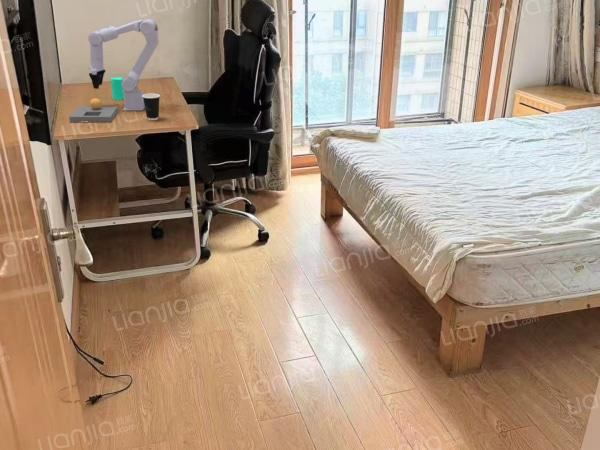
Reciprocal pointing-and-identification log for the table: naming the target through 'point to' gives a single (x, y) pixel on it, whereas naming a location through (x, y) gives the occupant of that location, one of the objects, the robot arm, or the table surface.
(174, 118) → the table surface
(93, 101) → the ball
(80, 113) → the plate
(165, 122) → the table surface
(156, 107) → the dixie cup
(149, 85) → the table surface
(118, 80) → the candle
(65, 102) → the table surface
